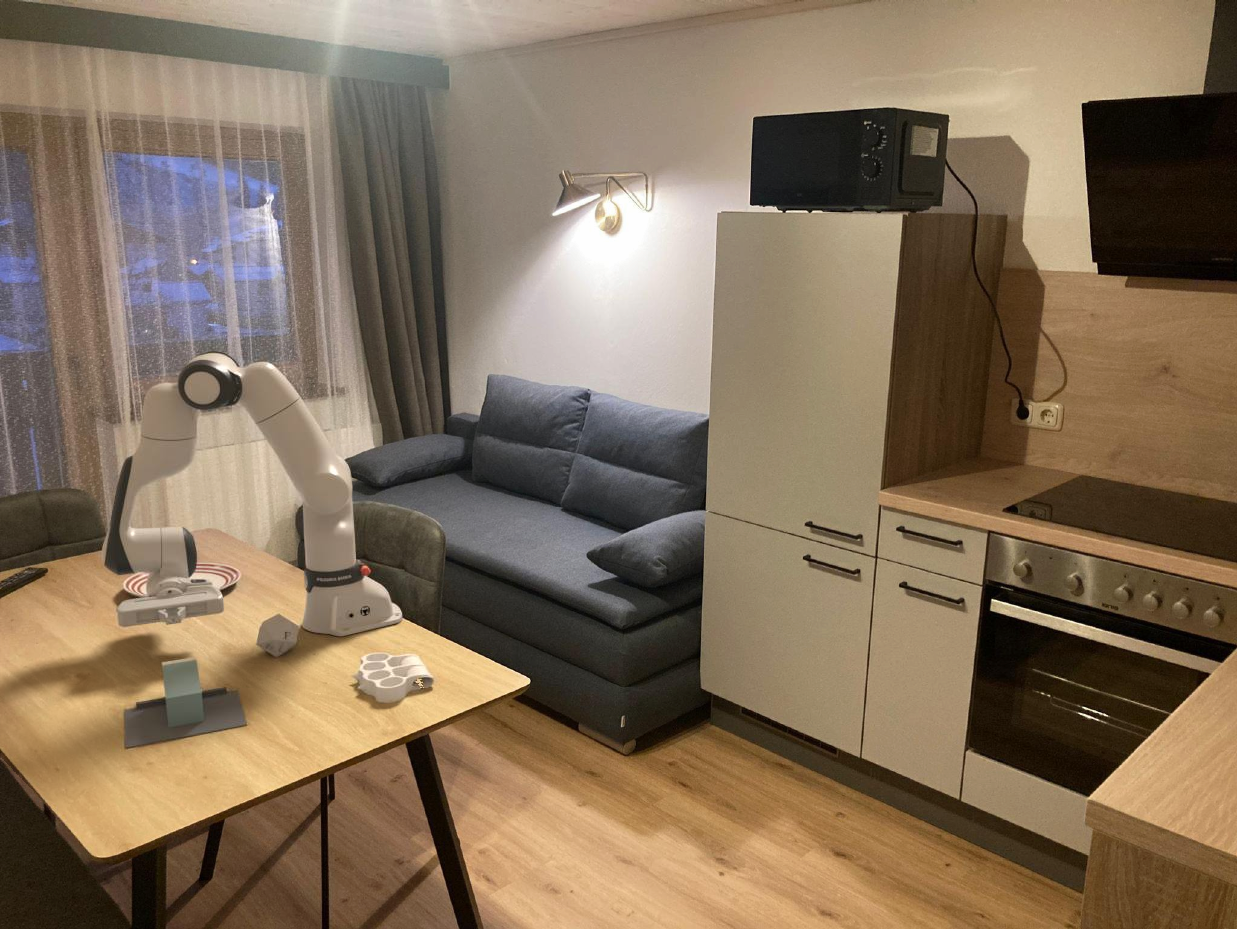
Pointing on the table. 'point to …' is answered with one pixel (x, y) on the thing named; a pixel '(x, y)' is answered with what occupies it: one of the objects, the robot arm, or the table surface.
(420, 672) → the white multi-hole holder
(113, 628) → the table surface
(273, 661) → the table surface
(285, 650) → the die
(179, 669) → the block
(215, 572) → the dinner plate
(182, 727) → the charcoal mat
